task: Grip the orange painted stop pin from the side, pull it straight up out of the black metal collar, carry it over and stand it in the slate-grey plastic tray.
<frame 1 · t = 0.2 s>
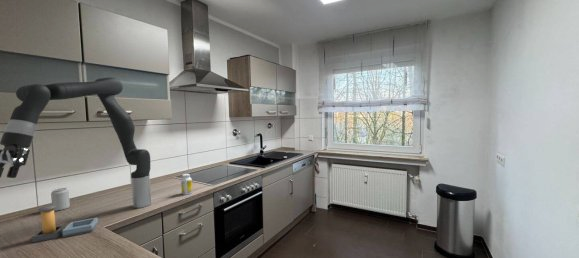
hand: (3, 177, 84), 31 cm above the countertop, tool tilted 20°, fingers open, 8 cm apart
pin collar: (49, 236, 105), on the countertop
supplement bottle: (187, 193, 161), on the countertop
stop pin: (48, 221, 105), in the pin collar
can: (61, 209, 140), on the countertop
parts tray: (81, 230, 110), on the countertop
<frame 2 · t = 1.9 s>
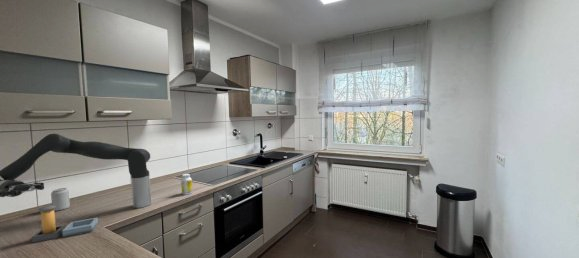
hand: (30, 190, 108), 20 cm above the countertop, tool horizontal, fingers open, 8 cm apart
nothing on the countertop moved.
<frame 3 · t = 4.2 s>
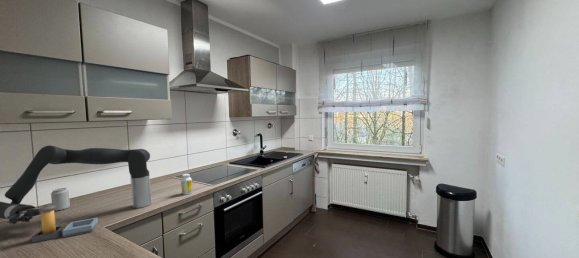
hand: (41, 215, 107), 9 cm above the countertop, tool horizontal, fingers open, 8 cm apart
nothing on the countertop moved.
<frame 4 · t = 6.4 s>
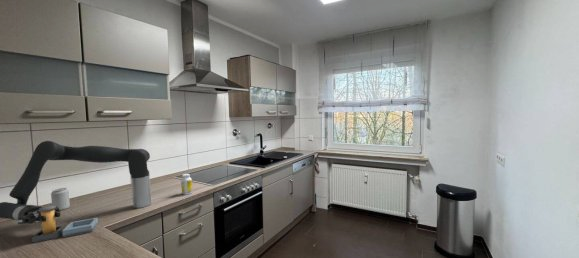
hand: (52, 216, 104), 9 cm above the countertop, tool horizontal, fingers closed on stop pin, 4 cm apart
stop pin: (48, 221, 105), in the pin collar, touching gripper
everything else where it was.
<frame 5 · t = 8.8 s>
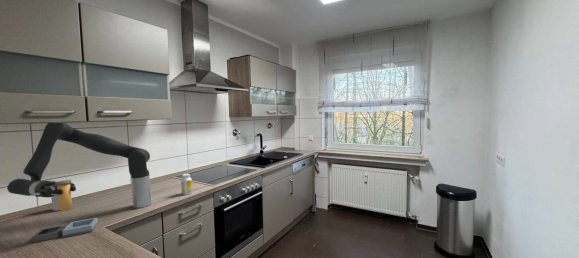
hand: (68, 190, 106), 20 cm above the countertop, tool horizontal, fingers closed on stop pin, 4 cm apart
stop pin: (64, 195, 107), point 17 cm above the countertop, touching gripper
everything else where it was.
when the fingers open (11 cm above the countertop, at t = 11.5 s): stop pin drops 1 cm, resting on parts tray.
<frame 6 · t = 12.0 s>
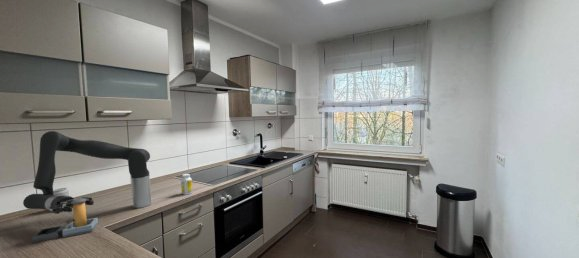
hand: (82, 206, 109), 12 cm above the countertop, tool horizontal, fingers open, 8 cm apart
stop pin: (80, 214, 110), in the parts tray, point 8 cm above the countertop
everything else where it was.
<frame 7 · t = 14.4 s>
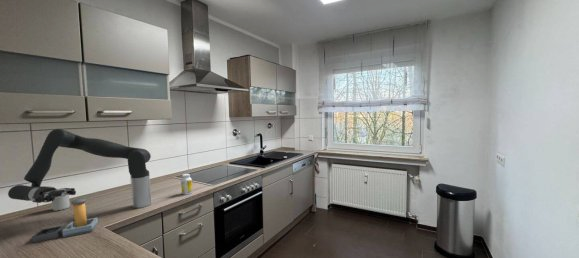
hand: (64, 195, 113), 16 cm above the countertop, tool horizontal, fingers open, 8 cm apart
nothing on the countertop moved.
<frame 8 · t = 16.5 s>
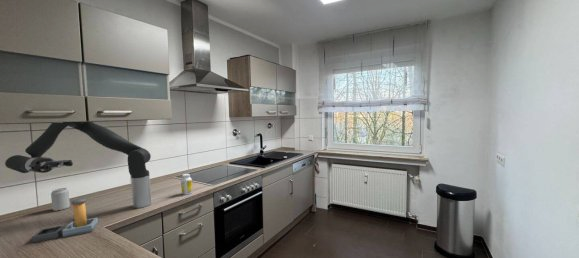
hand: (60, 165, 112), 30 cm above the countertop, tool horizontal, fingers open, 8 cm apart
nothing on the countertop moved.
at the end: stop pin inside the target area on the parts tray (0.1 cm from its centre), point 7.5 cm above the parts tray's base; the gripper is holding nothing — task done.
